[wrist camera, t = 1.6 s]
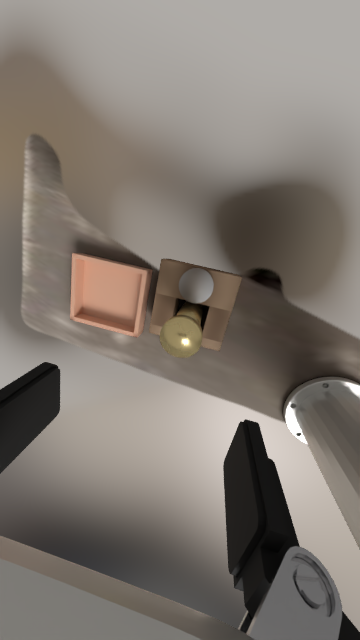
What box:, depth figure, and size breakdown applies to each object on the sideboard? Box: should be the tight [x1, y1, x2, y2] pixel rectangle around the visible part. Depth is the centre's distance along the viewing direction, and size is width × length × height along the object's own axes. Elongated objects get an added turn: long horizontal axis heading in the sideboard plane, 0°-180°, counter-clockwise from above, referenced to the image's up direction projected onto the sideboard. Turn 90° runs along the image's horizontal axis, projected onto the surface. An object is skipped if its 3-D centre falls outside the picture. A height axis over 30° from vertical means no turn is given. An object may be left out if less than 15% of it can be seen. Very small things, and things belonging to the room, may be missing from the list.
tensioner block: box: [149, 259, 242, 351], centre depth 27 cm, size 10×10×6 cm
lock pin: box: [160, 301, 203, 358], centre depth 25 cm, size 4×4×11 cm
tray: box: [70, 253, 153, 337], centre depth 30 cm, size 11×10×2 cm
